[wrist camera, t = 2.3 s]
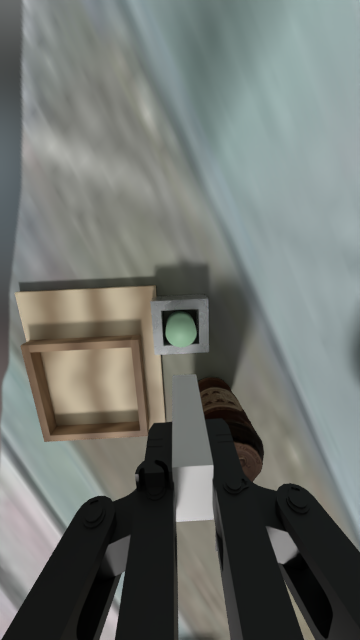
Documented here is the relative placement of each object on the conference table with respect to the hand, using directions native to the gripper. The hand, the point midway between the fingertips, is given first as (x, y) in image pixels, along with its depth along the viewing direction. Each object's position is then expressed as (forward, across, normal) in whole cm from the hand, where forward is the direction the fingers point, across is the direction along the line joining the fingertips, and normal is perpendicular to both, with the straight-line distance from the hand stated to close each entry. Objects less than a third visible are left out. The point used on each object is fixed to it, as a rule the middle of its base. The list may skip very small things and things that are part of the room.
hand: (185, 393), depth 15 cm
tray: (+18, +12, +6) cm, 22 cm away
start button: (+16, 0, 0) cm, 16 cm away
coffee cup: (+18, -4, +12) cm, 22 cm away
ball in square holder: (+18, 0, 0) cm, 18 cm away
